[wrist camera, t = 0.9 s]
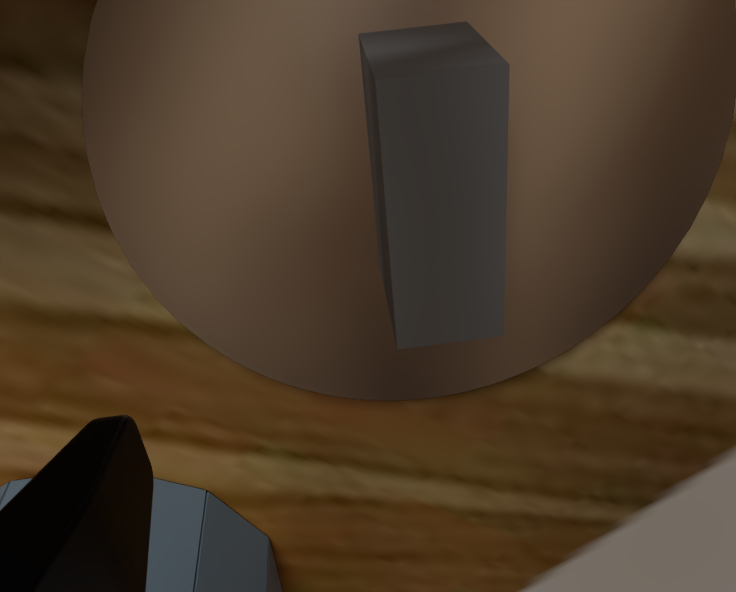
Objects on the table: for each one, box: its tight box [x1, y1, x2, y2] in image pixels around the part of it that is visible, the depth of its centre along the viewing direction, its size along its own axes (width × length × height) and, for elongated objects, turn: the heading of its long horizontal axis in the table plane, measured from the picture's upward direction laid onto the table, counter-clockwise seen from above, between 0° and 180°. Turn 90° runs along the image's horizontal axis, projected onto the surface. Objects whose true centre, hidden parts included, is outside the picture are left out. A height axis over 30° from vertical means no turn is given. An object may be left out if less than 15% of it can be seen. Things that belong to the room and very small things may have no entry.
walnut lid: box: [82, 0, 736, 401], centre depth 13 cm, size 13×13×4 cm
